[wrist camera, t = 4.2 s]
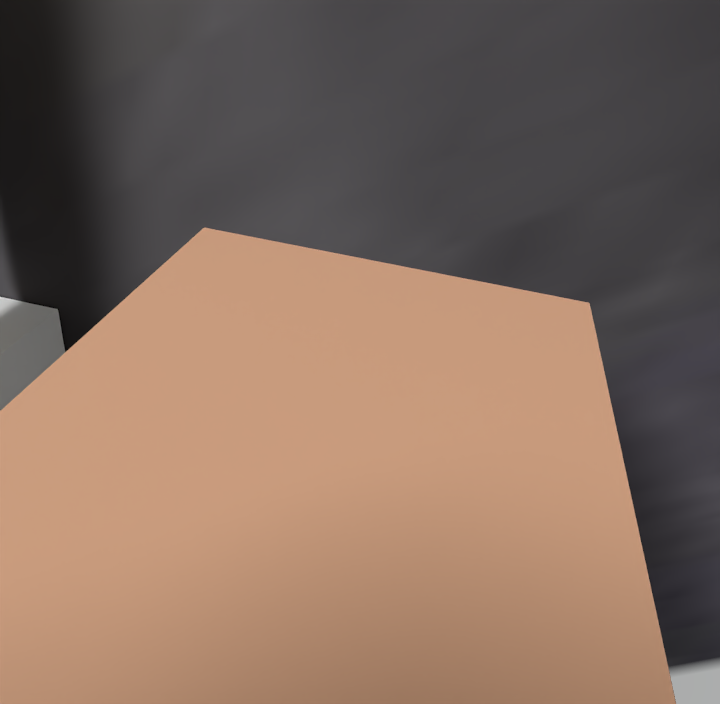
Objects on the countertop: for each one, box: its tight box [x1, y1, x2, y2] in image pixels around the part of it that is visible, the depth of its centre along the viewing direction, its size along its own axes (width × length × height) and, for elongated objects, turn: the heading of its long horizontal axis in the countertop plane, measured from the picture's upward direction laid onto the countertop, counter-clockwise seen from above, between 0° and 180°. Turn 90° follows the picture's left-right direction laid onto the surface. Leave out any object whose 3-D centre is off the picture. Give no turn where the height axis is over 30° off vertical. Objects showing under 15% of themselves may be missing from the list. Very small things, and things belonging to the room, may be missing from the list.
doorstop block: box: [0, 228, 676, 704], centre depth 7 cm, size 6×5×6 cm
